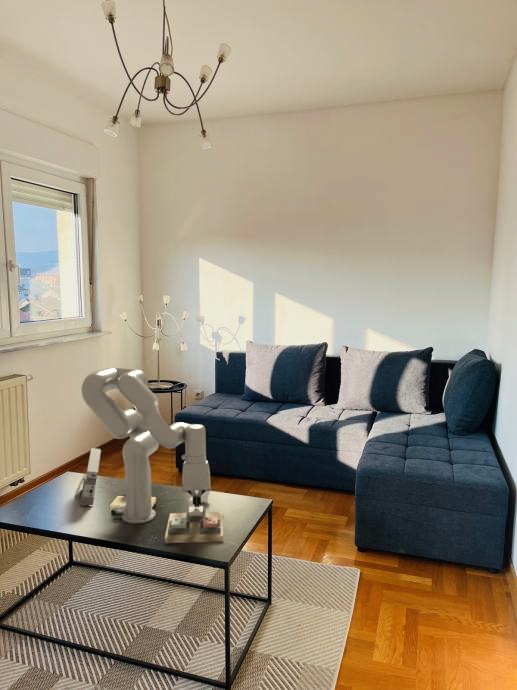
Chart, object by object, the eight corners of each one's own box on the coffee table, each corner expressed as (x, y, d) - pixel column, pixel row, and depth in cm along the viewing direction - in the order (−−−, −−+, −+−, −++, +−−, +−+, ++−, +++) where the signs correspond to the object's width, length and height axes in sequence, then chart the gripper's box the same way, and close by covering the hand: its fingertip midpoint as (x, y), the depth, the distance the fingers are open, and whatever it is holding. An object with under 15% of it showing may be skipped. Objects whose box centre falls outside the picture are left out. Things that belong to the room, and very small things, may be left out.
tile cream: (188, 517, 196) (188, 511, 196) (189, 511, 201) (189, 506, 201) (202, 517, 197) (202, 511, 197) (203, 511, 202) (203, 505, 202)
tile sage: (171, 530, 186) (171, 524, 186) (172, 523, 191) (172, 517, 191) (186, 529, 186) (186, 523, 186) (187, 523, 192) (186, 517, 191)
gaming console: (76, 489, 232) (84, 444, 231) (93, 491, 234) (102, 447, 233) (71, 510, 210) (81, 461, 209) (91, 512, 212) (100, 463, 211)
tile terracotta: (202, 529, 187) (202, 523, 187) (203, 522, 192) (203, 517, 192) (217, 528, 187) (217, 522, 187) (217, 522, 192) (217, 516, 192)
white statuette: (210, 480, 219) (196, 493, 208) (211, 499, 221) (198, 513, 210) (197, 478, 221) (182, 491, 210) (198, 497, 223) (183, 511, 212)
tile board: (164, 543, 183) (164, 532, 183) (170, 518, 203) (169, 508, 203) (223, 541, 185) (223, 530, 184) (222, 516, 205) (222, 506, 204)
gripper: (174, 462, 193) (176, 511, 194) (216, 460, 194) (217, 509, 196) (176, 455, 200) (177, 503, 202) (216, 454, 201) (217, 501, 203)
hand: (196, 506), depth 199 cm, fingers closed
